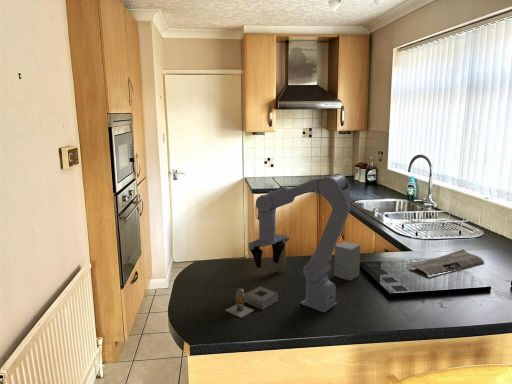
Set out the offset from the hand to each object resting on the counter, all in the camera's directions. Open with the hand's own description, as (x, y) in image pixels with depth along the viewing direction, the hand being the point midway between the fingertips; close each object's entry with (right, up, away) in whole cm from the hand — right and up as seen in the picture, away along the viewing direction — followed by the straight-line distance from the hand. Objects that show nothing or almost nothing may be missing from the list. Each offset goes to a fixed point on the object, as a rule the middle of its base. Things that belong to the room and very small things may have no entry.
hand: (267, 264), depth 139 cm
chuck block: (-2, -11, -7) cm, 13 cm away
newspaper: (+76, -6, +25) cm, 80 cm away
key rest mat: (-9, -13, -13) cm, 20 cm away
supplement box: (+32, -7, +15) cm, 36 cm away
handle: (+6, -7, +19) cm, 21 cm away
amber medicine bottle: (-9, -12, -13) cm, 20 cm away
